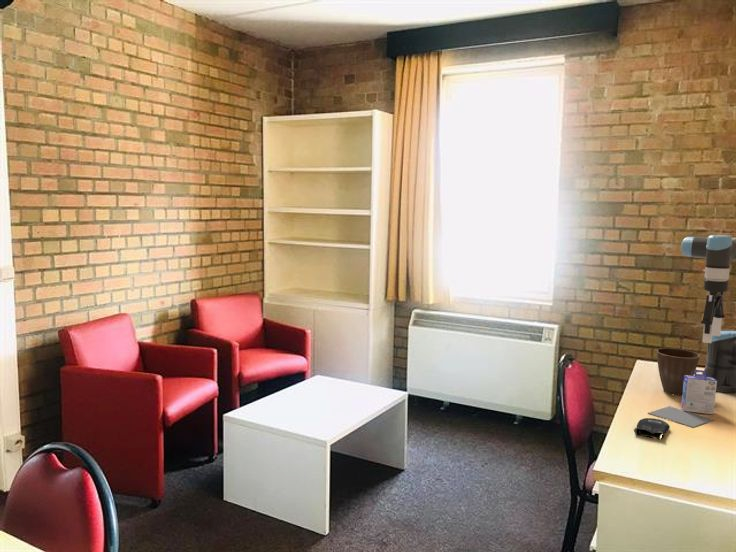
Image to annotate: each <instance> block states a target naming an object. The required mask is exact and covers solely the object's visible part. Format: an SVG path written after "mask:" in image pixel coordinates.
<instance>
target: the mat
mask: <svg viewBox="0 0 736 552" xmlns="http://www.w3.org/2000/svg"><path fill="white" fill-rule="evenodd" d="M647 414H648V415H651V416H654V417H657V418H660V417H661V419H663V418H664V419H663V420H666V419H668V420H667V421H670V420H671V421H670V422H673V421H675V422H674V423H676V422H677V423H676V424H679V423H681V424H680V425H683V424H684V425H683V426H686V427H689V428H693V429H694V428H697V427H700V426H702V425H705V424H708V423H711V422H714V421H715V419H714V418H711V417H707V416H704V415H701V414H698V413H695V412H689V411H684V410H683V409H682V408H681V409H680V408H677V407H674V406H670V405H668V406H666V407H663V408H659V409H656V410H652V411H650V412H647Z"/></svg>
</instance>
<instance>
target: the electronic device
mask: <svg viewBox="0 0 736 552" xmlns="http://www.w3.org/2000/svg"><path fill="white" fill-rule="evenodd" d="M670 427H671V426H670V424H669V423H668V422H666V421H664V419H663V420H662V419H659V418H651V417H645V418H642V419H640V420H638V422H637V424H636V427H635V428H634V429H633V432H634V435H635V436H640V437H644V438H647V439H654V438H653V437H651V436H652V435H651V436H650V435H649V436H648V434H647V433H646V434H643V435H641V430H642V431H644V430H645V431H647V432H648V433H649V434H655V433H656V434H660V433H663V435H662V438H661V440H662V439H664V438H665V434H666V433H667V432H668V431H670Z"/></svg>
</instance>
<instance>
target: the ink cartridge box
mask: <svg viewBox="0 0 736 552" xmlns="http://www.w3.org/2000/svg"><path fill="white" fill-rule="evenodd" d="M701 373H704V374H703V375H702V374H701ZM716 386H717V380H715V379H714V378H712V377H706V373H705V371H704V369H703V370H702V369H701V370H700V369H696V370H695V373H694V376H688V375H684V383H683V395H681V396H682V397H681V406H680V408H681V410H684V411H687V412H691V413H697V414H698V413H700V414H706V415H707V414H709V415H714V413H715V404H716V403H715V401H716V394H717V391H716Z"/></svg>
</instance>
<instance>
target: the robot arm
mask: <svg viewBox="0 0 736 552" xmlns="http://www.w3.org/2000/svg"><path fill="white" fill-rule="evenodd" d="M680 251H681V254H682V255H683V256H685V257H690V258H699V259H705V268H704V269H703V270H702V271H703V273H704V278H705V279H704V280H703V290H704V291H705V292H709V294H707V295H706V296H705V297H706V299H705V307H704V310H703V316H702V320H701V321H700V323H701V324H702V325H703V330H702V343H705V344H706V343H707V350H706V361H705V367H704V369H703V371H705V373H706V377H712V378H714V379H715V380H717V386H716V392H721V393H729V394H730V393H733V394H735V393H736V331H735V330H722V319H725V315H726V314H724V313H725V312H724V293H726V292H728V289H729V281H728V280H729V279H730V271H731V270H730V269H731V267H730V266H731V262H736V237H732V236H731V235H728V234H726V235H725V234H724V235H723V234H712V235H709V236H706V237H704V236H703V237H701V236H699V237H697V236H686V237H685V238H684V239H683V240H682V241H681V245H680ZM701 373H702V372H701ZM703 374H704V373H702V375H703Z"/></svg>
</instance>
